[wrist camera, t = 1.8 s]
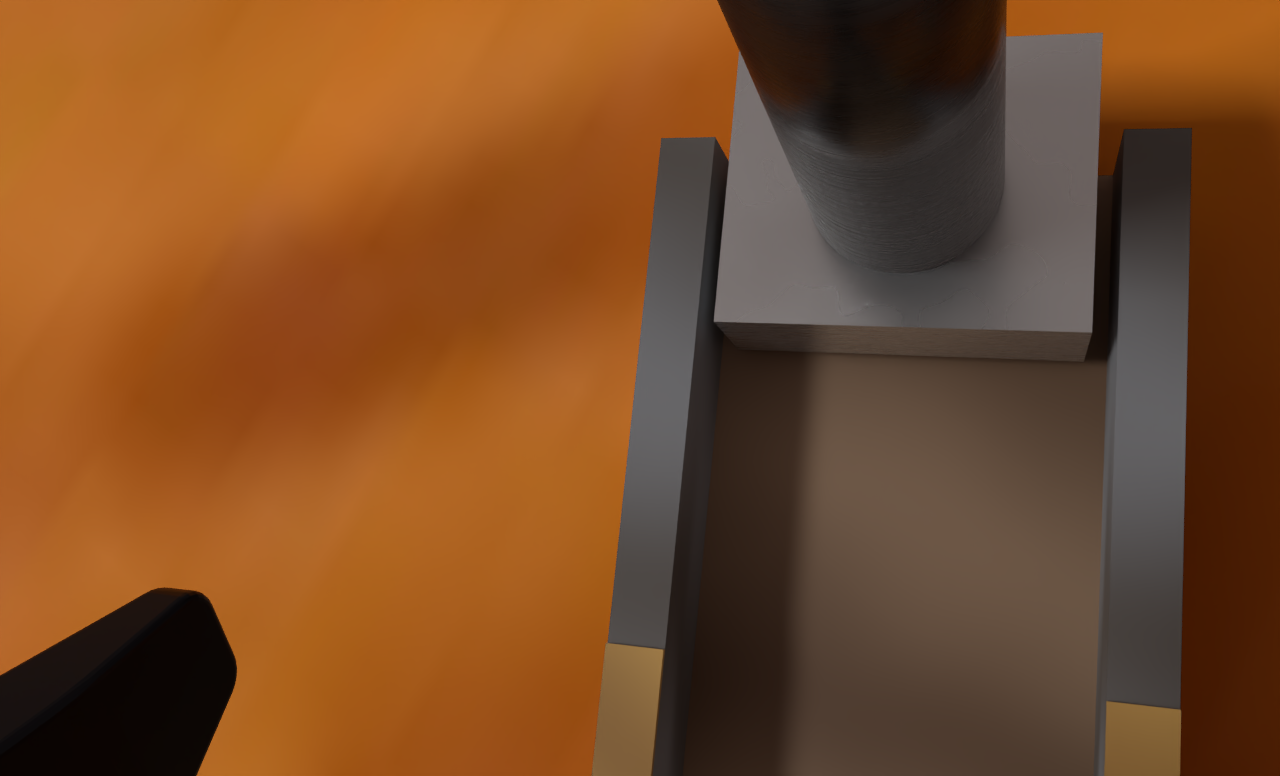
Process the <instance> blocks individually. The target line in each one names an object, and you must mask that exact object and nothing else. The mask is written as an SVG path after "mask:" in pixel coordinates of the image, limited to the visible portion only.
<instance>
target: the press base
mask: <svg viewBox="0 0 1280 776" xmlns="http://www.w3.org/2000/svg"><path fill="white" fill-rule="evenodd" d="M1191 145H1192V128H1170V129H1124V132H1123V136H1122V140H1121V145H1120V149H1119V153H1118V157H1117V161H1116V165H1115V170H1114V174H1113V175H1111V176H1098V180H1097V209H1096V237H1095V266H1094V295H1093V323H1092V335H1091V338H1090V342H1089V345H1088V348H1087V352H1086V355H1085V359H1084V362H1078V361H1050V360H1022V359H994V358H967V357H939V356H911V355H883V354H855V353H828V352H800V351H772V350H744V349H738V348H737V347H736V346H735V345H734V344H733V343H732V342H731V341H730V339H729V338H728V337H727V336H726V335H725V334H724V333H723V332H722V330H721V329H720V328H719V327H718V326H717V325H716V324H715V322H714V313H715V303H716V292H717V282H718V271H719V261H720V250H721V240H722V229H723V219H724V208H725V198H726V187H727V177H728V166H729V161H728V159H727V158H726V156H725V154H724V152H723V150H722V149H721V147H720V145H719V143H718V142H717V140H716V138H715V137H704V138H661V148H660V157H659V166H658V176H657V185H656V195H655V204H654V213H653V223H652V232H651V242H650V251H649V260H648V270H647V279H646V288H645V298H644V307H643V317H642V326H641V335H640V345H639V354H638V364H637V373H636V382H635V392H634V401H633V410H632V420H631V429H630V439H629V448H628V457H627V467H626V476H625V486H624V495H623V504H622V514H621V523H620V533H619V542H618V551H617V561H616V570H615V579H614V589H613V598H612V608H611V617H610V626H609V636H608V643H606V646H605V656H604V665H603V674H602V684H601V693H600V703H599V712H598V721H597V731H596V740H595V749H594V759H593V768H592V776H1180V747H1181V710H1180V697H1181V647H1182V597H1183V546H1184V496H1185V446H1186V396H1187V346H1188V296H1189V245H1190V195H1191Z"/></svg>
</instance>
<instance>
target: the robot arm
mask: <svg viewBox="0 0 1280 776" xmlns="http://www.w3.org/2000/svg"><path fill="white" fill-rule="evenodd" d="M236 676H237V665H236V659H235V656H234V654H233V651H232V649H231V647H230V644H229V642H228V640H227V638H226V635H225V633H224V631H223V629H222V626H221V624H220V622H219V619H218V617H217V615H216V613H215V610H214V608H213V606H212V604H211V602H210V600H209V599H208V598H207V597H206V596H205V595H204V594H202V593H200V592H197V591H192V590H183V589H174V588H157V589H154V590H151V591H149V592H147V593H145V594H143V595H142V596H140V597H138V598H136V599H135V600H133V601H131V602H129V603H128V604H126V605H124V606H122V607H120V608H119V609H117V610H115V611H113V612H112V613H110V614H108V615H106V616H105V617H103V618H101V619H99V620H98V621H96V622H94V623H92V624H90V625H89V626H87V627H85V628H83V629H82V630H80V631H78V632H76V633H75V634H73V635H71V636H69V637H67V638H66V639H64V640H62V641H60V642H59V643H57V644H55V645H53V646H52V647H50V648H48V649H46V650H45V651H43V652H41V653H39V654H37V655H36V656H34V657H32V658H30V659H29V660H27V661H25V662H23V663H22V664H20V665H18V666H16V667H14V668H13V669H11V670H9V671H7V672H6V673H4V674H2V675H0V776H196V775H197V773H198V771H199V768H200V766H201V764H202V761H203V759H204V757H205V754H206V752H207V750H208V747H209V745H210V743H211V740H212V738H213V736H214V734H215V731H216V729H217V727H218V724H219V722H220V720H221V717H222V715H223V713H224V710H225V708H226V706H227V703H228V701H229V699H230V696H231V694H232V692H233V689H234V686H235V681H236Z"/></svg>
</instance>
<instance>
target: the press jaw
mask: <svg viewBox="0 0 1280 776" xmlns="http://www.w3.org/2000/svg"><path fill="white" fill-rule="evenodd" d="M717 1H718V3H719V5H720V7H721V10H722V12H723V14H724V17H725V19H726V21H727V23H728V26H729V28H730V30H731V33H732V35H733V37H734V39H735V42H736V44H737V46H738V48H739V61H738V71H737V82H736V92H735V103H734V113H733V124H732V135H731V145H730V156H729V166H728V177H727V187H726V198H725V208H724V219H723V229H722V240H721V250H720V261H719V271H718V282H717V292H716V303H715V313H714V322H715V324H716V325H717V326H718V327H719V328H720V329H721V330H722V332H723V333H724V334H725V335H726V336H727V337H728V338H729V339H730V341H731V342H732V343H733V344H734V345H735V346H736V347H737V348H738V349H744V350H772V351H800V352H828V353H855V354H883V355H911V356H939V357H967V358H994V359H1022V360H1050V361H1078V362H1084V359H1085V355H1086V352H1087V348H1088V345H1089V342H1090V338H1091V335H1092V323H1093V295H1094V266H1095V237H1096V209H1097V180H1098V152H1099V123H1100V95H1101V66H1102V38H1103V33H1085V34H1061V35H1038V36H1014V37H1006V7H1007V0H717Z"/></svg>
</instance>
